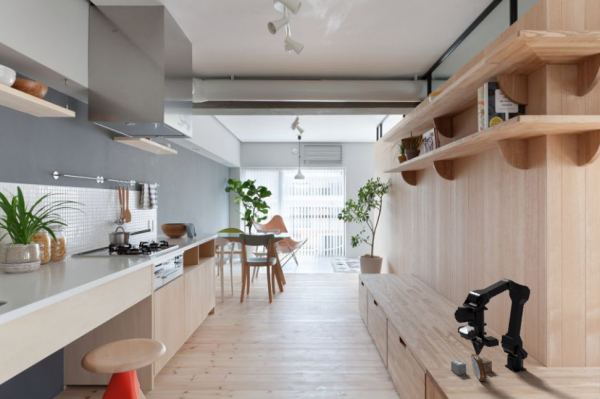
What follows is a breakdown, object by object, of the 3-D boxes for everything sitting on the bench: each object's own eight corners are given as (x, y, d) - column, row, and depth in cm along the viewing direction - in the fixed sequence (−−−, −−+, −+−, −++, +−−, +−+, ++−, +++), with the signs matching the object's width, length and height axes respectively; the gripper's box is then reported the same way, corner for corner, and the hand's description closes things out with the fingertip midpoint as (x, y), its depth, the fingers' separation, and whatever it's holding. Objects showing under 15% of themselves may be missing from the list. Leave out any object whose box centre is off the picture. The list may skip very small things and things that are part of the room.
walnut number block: (484, 366, 172) (484, 356, 172) (492, 371, 168) (491, 360, 168) (476, 368, 171) (476, 358, 171) (484, 372, 167) (484, 362, 167)
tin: (487, 384, 156) (487, 365, 156) (479, 384, 156) (479, 364, 156) (477, 368, 170) (477, 350, 170) (470, 368, 171) (470, 350, 171)
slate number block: (459, 369, 170) (458, 359, 170) (466, 373, 166) (466, 363, 166) (451, 370, 169) (451, 360, 169) (458, 375, 164) (458, 364, 164)
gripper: (448, 315, 170) (448, 348, 170) (479, 329, 152) (479, 366, 152) (467, 313, 173) (467, 345, 173) (499, 326, 155) (500, 362, 155)
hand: (477, 354), depth 163 cm, fingers closed
